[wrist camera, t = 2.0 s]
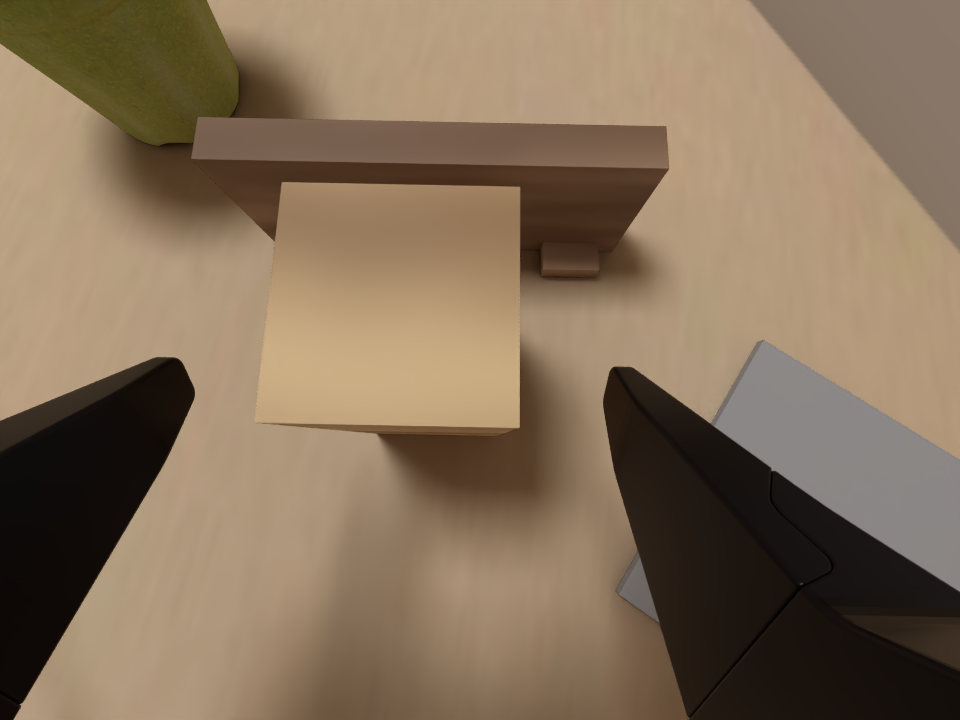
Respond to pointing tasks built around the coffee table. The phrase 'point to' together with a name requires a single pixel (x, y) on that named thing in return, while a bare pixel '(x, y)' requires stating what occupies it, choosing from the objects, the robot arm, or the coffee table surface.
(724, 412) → the felt mat
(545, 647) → the coffee table surface
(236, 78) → the plant pot
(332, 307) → the letter block
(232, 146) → the walnut screen
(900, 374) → the coffee table surface
